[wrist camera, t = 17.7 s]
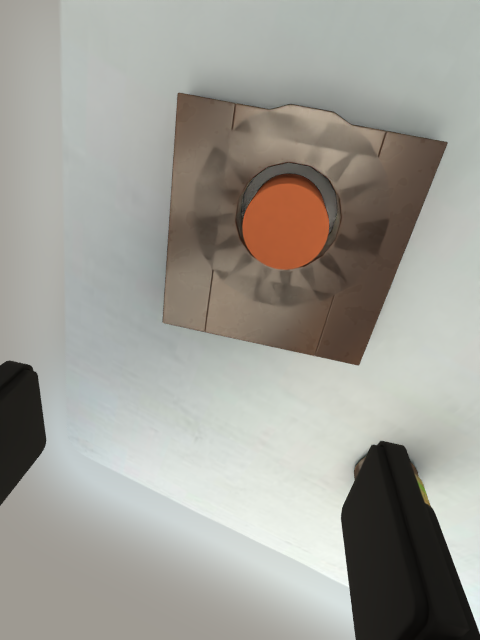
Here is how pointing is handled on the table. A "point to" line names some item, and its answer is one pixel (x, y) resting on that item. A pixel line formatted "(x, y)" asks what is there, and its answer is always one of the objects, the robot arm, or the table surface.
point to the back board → (341, 245)
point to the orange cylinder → (286, 222)
